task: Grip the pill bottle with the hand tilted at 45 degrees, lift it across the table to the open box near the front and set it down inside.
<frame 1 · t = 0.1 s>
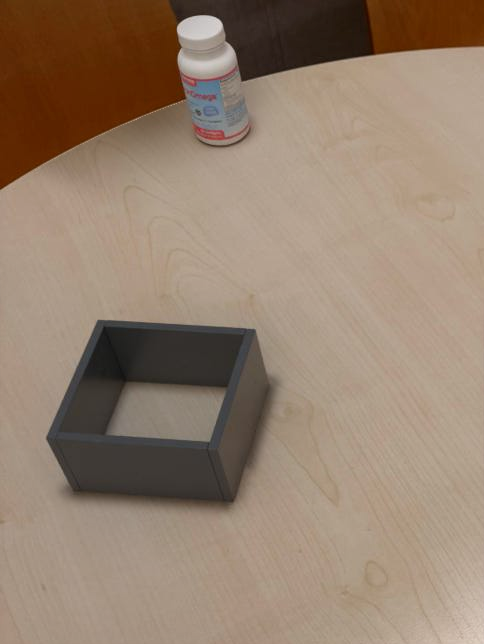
open box: (178, 446, 91), on the table
pill bottle: (223, 133, 117), on the table
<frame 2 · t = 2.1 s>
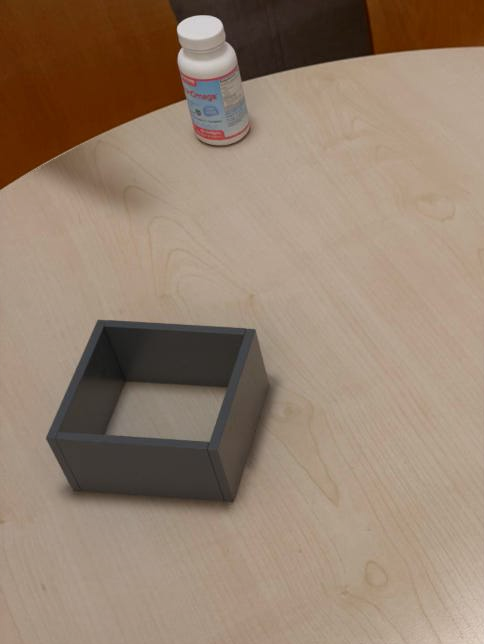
nothing on the table moved.
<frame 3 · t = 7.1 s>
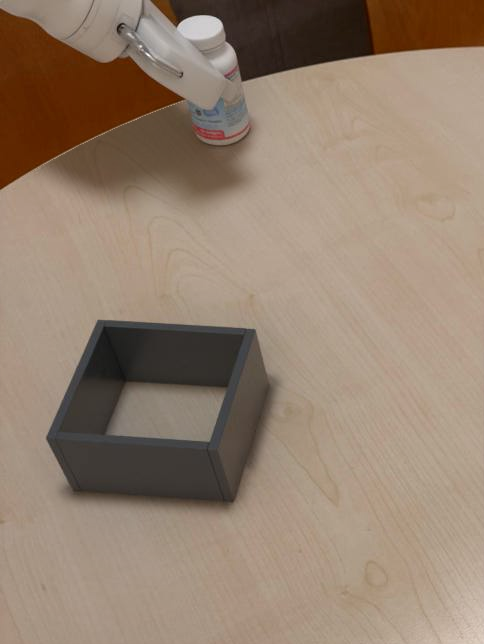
hand: (216, 75, 112), 6 cm above the table, tool tilted 45°, fingers closed on pill bottle, 6 cm apart
pill bottle: (224, 133, 117), on the table, touching gripper
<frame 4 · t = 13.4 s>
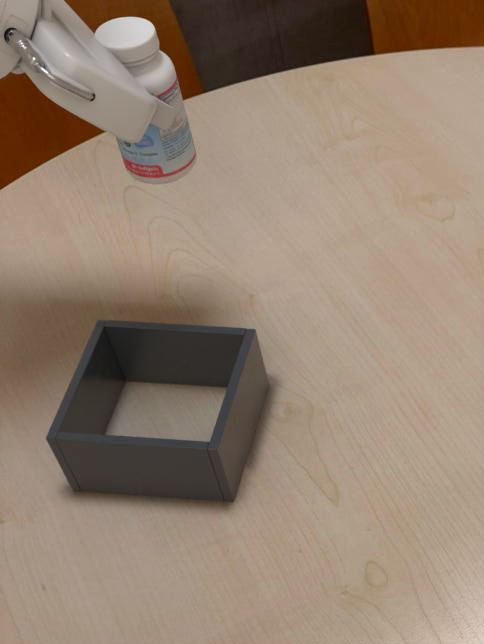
hand: (149, 96, 86), 19 cm above the table, tool tilted 45°, fingers closed on pill bottle, 6 cm apart
pill bottle: (163, 168, 91), point 13 cm above the table, touching gripper
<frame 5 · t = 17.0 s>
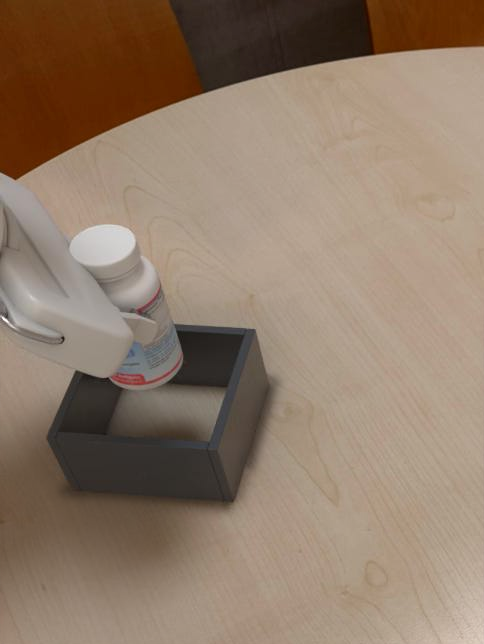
hand: (131, 302, 79), 15 cm above the table, tool tilted 45°, fingers closed on pill bottle, 6 cm apart
pill bottle: (147, 368, 83), point 9 cm above the table, touching gripper
when the fingers open (7 cm above the table, at t = 19.9 s): pill bottle stays where it is, resting on open box.
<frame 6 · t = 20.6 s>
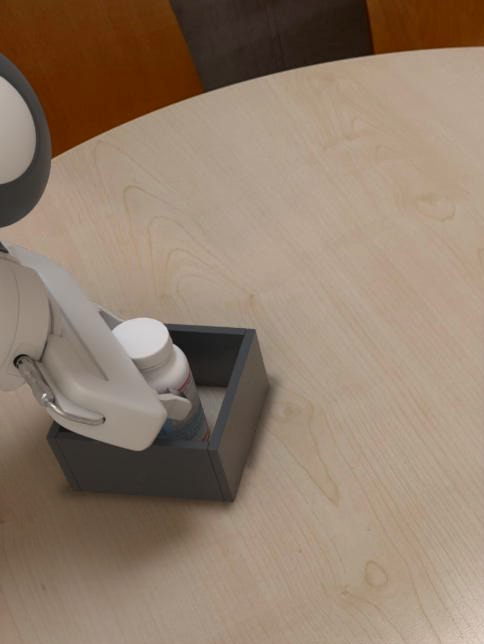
hand: (160, 372, 85), 8 cm above the table, tool tilted 45°, fingers open, 8 cm apart
pill bottle: (175, 441, 91), point 1 cm above the table, touching open box
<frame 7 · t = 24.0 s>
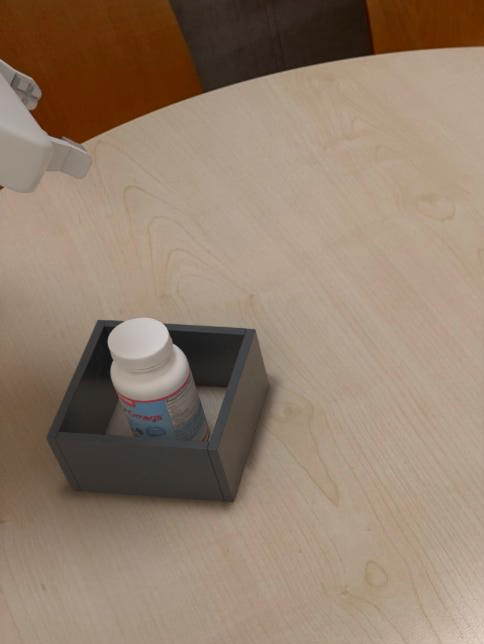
hand: (59, 129, 74), 25 cm above the table, tool tilted 45°, fingers open, 8 cm apart
nothing on the table moved.
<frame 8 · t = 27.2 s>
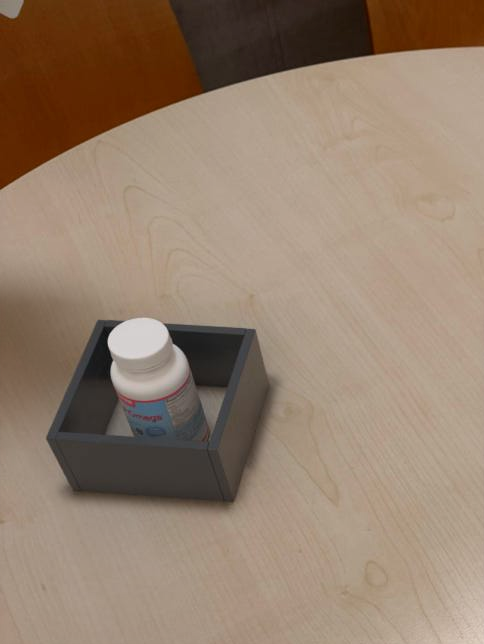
nothing on the table moved.
at the end: pill bottle inside the target area in the open box (0.2 cm from its centre), point 0.8 cm above the open box's base; the gripper is holding nothing; pill bottle tilted 0° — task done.
